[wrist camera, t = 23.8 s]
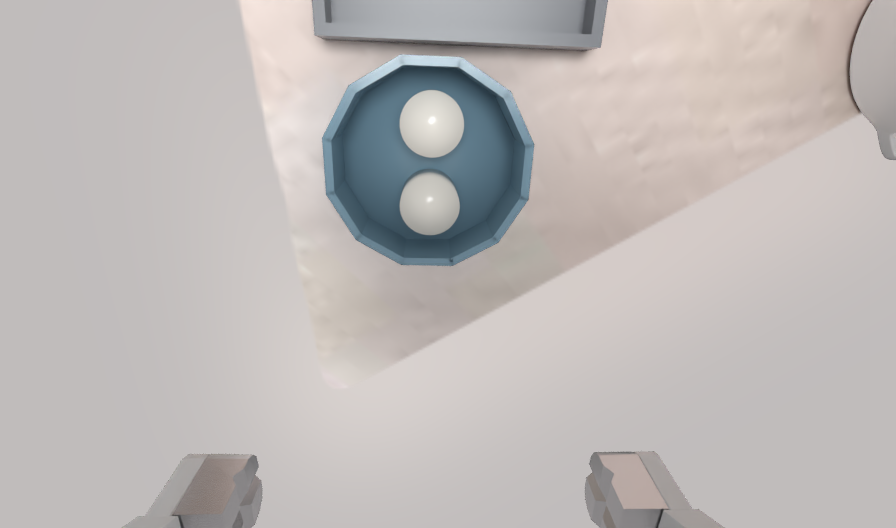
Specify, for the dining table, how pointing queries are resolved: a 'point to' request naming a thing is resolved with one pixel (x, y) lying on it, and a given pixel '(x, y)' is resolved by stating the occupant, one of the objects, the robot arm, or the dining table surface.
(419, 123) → the stone
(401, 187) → the bowl
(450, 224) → the stone
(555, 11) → the tray
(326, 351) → the dining table surface
